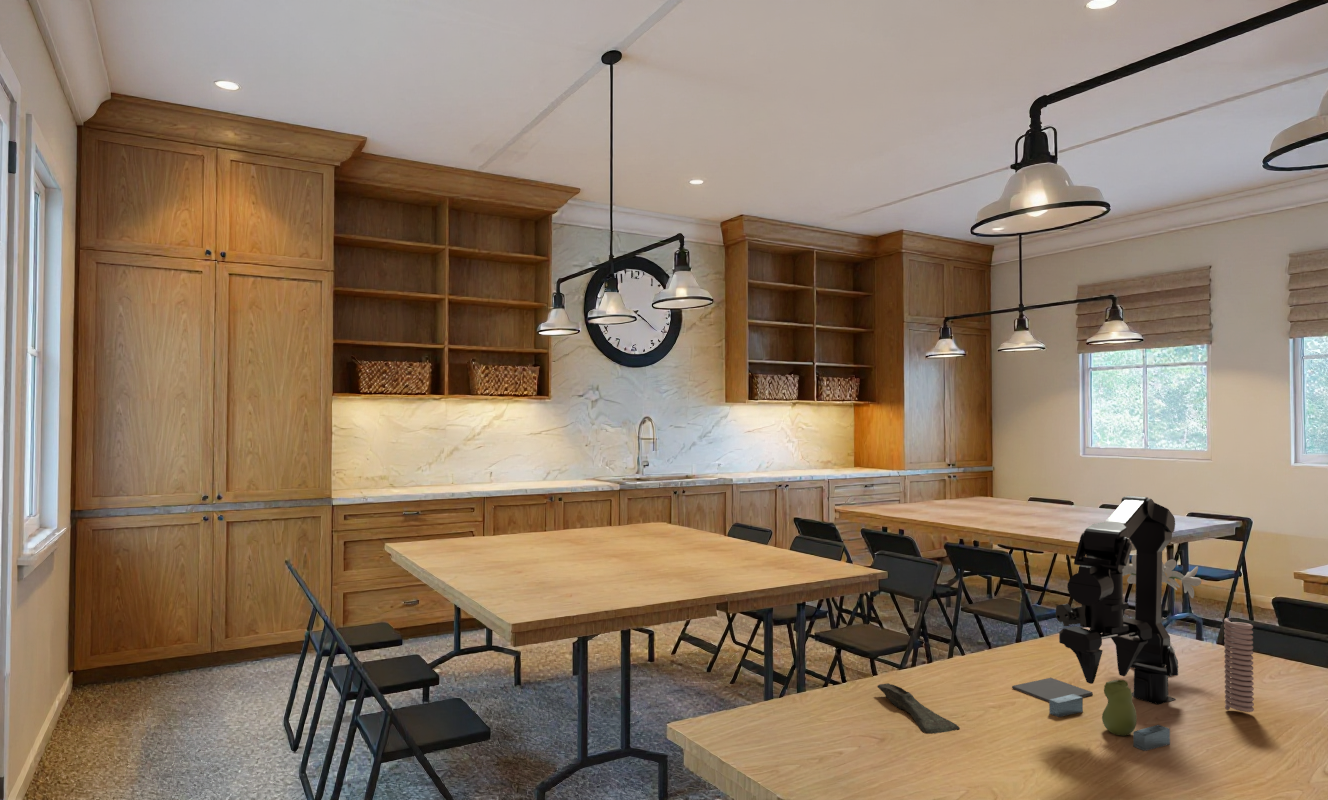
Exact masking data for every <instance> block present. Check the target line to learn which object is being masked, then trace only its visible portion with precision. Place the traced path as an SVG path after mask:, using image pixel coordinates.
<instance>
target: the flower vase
mask: <svg viewBox="0 0 1328 800" xmlns="http://www.w3.org/2000/svg"><path fill="white" fill-rule="evenodd" d="M1176 567H1177V561H1176V559H1169V560H1167V561H1166V562H1163V561H1162V583H1165V584H1167V585H1169V586H1170V587H1171V588H1173V589H1174V590H1176V591H1178V588H1181V585H1179V583H1178V581H1177V580H1179V581H1181V582H1182V586H1183V592H1184V594H1187V593H1188V594H1189V596H1190V598H1191V599H1194V598H1195V590H1194V587H1198V586H1200V585H1201V584H1202V579H1201V578H1200V577H1195V576H1196V575H1197V573H1198V570H1199V566H1198V565H1197V566H1195V567H1194V568H1193V569H1192V570H1191V571H1187V572H1186V574H1185V575H1184V574H1182V573H1181V572H1179V571H1177V570H1174V569H1175V568H1176ZM1122 571H1123V577H1124V576H1127V575H1129V576H1128V577H1127V583H1128V584H1133V585H1136V554H1134V555H1132V556H1131V563H1130V557H1129V558H1128V561H1127V564H1126V566H1124V569H1122ZM1170 646H1171V647H1172V648H1173V651H1174V653H1175V654H1176V649H1175V646H1174V645H1173V643H1172V642H1171V641H1170Z"/></svg>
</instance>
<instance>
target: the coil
mask: <svg viewBox="0 0 1328 800" xmlns="http://www.w3.org/2000/svg"><path fill="white" fill-rule="evenodd" d="M1223 622H1224V624H1223V628H1225V629H1224V630H1223V632H1224V635H1223V637H1224V640H1223V641H1224V646H1223V647H1224V651H1223V652H1224V655H1223V657H1224V678H1225V679H1224V689H1225V690H1224V698H1225V700H1224V703H1225V706H1224V708H1225V710H1226V711H1230V709H1233V710H1236V711H1240V712H1245V713H1252V712H1254V711H1255V708H1254V705H1255V704H1254V700H1255V699H1254V697H1253V696H1254V695H1255V693H1254V687H1253V686H1254V685H1255V683H1254V682H1253V680H1254V676H1253V675H1254V674H1255V673H1254V671H1253V670H1254V666H1253V665H1254V661H1253V660H1254V657H1253V654H1254V651H1253V649H1254V646H1253V644H1254V641H1253V639H1254V636H1253V635H1252V634H1254V631H1253V630H1252V629H1253V628H1254V625H1252V624H1251V623H1247V622H1239V621H1232V622H1231V621H1230V619H1229V618H1228V617H1226V618H1224V619H1223Z"/></svg>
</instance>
